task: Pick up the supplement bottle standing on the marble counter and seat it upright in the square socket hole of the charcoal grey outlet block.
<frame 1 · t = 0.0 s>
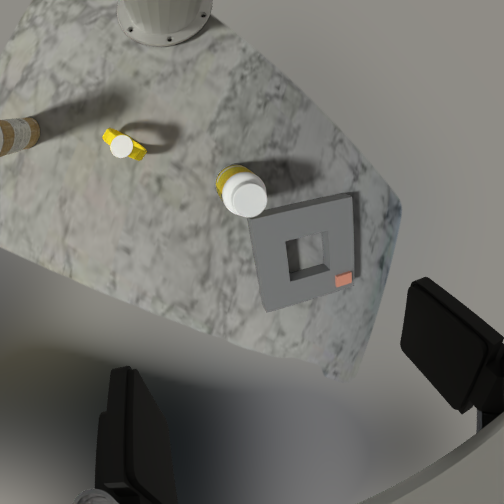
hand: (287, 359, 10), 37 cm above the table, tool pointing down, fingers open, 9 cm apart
watch: (127, 142, 39), on the table
sprinkles bottle: (28, 133, 34), on the table
supplement bottle: (233, 182, 45), on the table
outlet block: (303, 250, 52), on the table
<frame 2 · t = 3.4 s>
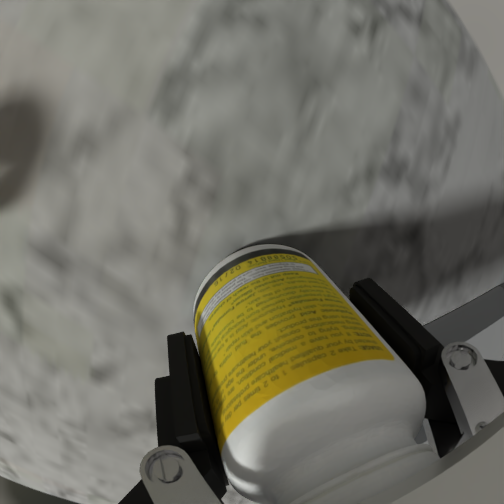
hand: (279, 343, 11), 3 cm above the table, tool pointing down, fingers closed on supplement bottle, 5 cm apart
supplement bottle: (258, 301, 13), on the table, touching gripper
outlet block: (401, 407, 20), on the table
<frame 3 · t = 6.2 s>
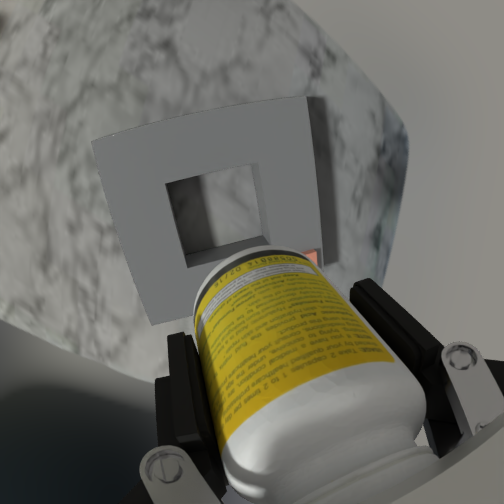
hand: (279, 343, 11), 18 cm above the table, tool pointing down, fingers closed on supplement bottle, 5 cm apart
supplement bottle: (258, 302, 13), point 15 cm above the table, touching gripper
outlet block: (216, 207, 27), on the table
when the fingers open (4 cm above the table, at t = 9.3 s): supplement bottle drops 1 cm, resting in outlet block.
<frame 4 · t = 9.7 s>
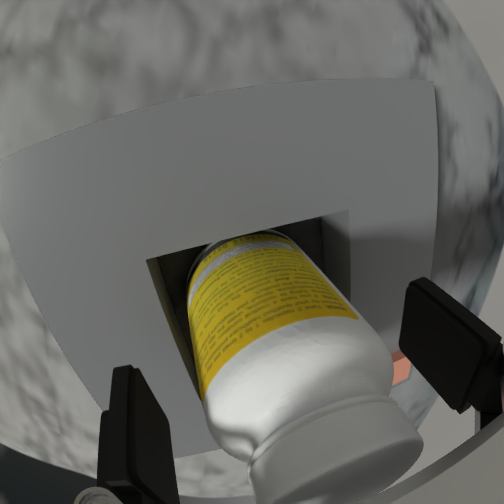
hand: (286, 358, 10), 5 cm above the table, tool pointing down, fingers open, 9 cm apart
supplement bottle: (246, 281, 14), resting in outlet block
outlet block: (250, 286, 14), on the table
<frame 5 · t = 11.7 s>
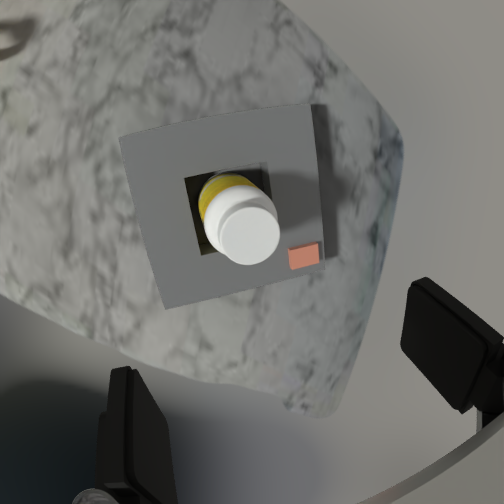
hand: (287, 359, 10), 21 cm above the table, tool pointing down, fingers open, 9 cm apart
supplement bottle: (226, 200, 30), resting in outlet block
outlet block: (228, 202, 29), on the table
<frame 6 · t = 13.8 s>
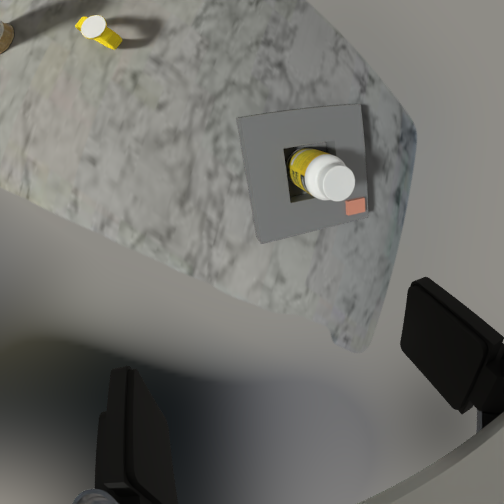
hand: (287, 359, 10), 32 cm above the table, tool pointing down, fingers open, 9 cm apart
watch: (103, 38, 29), on the table
sprinkles bottle: (2, 39, 24), on the table
supplement bottle: (303, 166, 42), resting in outlet block
outlet block: (305, 168, 41), on the table
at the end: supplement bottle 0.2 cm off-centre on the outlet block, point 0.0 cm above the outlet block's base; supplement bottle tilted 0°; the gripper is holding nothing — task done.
